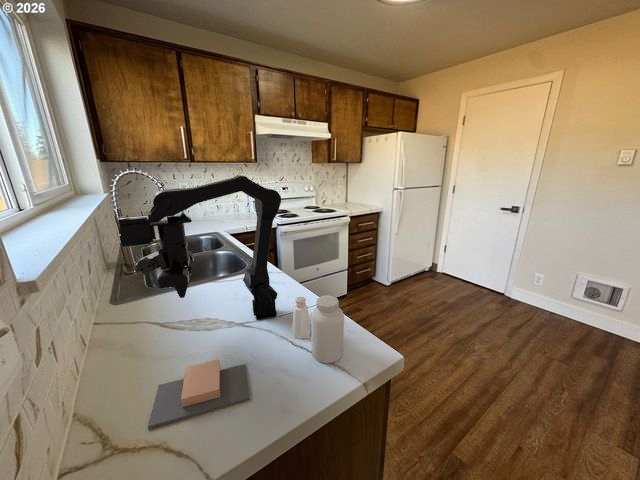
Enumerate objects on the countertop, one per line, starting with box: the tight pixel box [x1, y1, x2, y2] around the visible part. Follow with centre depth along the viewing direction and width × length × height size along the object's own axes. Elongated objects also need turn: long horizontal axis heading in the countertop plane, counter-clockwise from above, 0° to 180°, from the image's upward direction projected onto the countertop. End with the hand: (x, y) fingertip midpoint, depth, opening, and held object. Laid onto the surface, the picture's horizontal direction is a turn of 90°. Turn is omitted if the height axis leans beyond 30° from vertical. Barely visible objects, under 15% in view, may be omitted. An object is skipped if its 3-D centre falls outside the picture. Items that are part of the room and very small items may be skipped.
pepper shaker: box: [291, 296, 312, 340], centre depth 74 cm, size 5×5×11 cm
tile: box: [181, 359, 221, 407], centre depth 57 cm, size 7×2×9 cm
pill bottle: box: [310, 295, 345, 364], centre depth 65 cm, size 8×8×15 cm
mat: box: [147, 363, 250, 430], centre depth 56 cm, size 18×10×1 cm, turn 110°
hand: (182, 297), depth 71 cm, fingers closed
